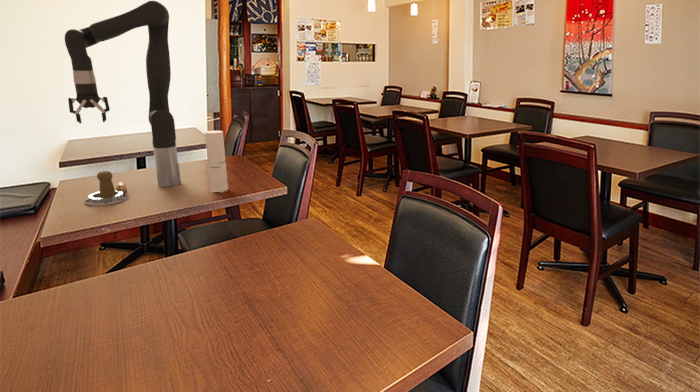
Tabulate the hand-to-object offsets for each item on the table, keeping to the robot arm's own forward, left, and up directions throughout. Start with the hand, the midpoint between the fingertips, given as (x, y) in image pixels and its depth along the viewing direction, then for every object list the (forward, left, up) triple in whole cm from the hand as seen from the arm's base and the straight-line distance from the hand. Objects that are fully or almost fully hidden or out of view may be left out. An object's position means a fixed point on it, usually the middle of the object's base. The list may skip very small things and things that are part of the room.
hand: (92, 122), depth 181 cm
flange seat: (-2, +21, -28) cm, 35 cm away
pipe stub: (-7, +12, -28) cm, 31 cm away
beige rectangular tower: (-44, +27, -28) cm, 59 cm away
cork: (-2, +21, -28) cm, 35 cm away
